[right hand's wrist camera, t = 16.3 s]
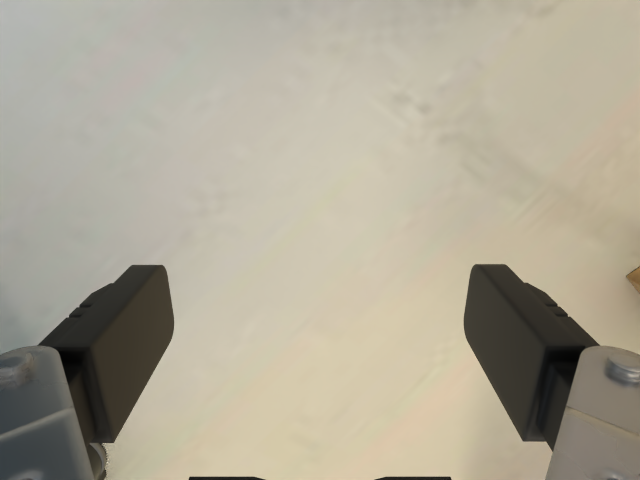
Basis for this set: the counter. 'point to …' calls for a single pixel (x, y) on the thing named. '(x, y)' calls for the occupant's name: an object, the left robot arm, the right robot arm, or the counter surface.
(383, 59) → the counter surface
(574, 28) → the counter surface
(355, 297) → the counter surface
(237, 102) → the counter surface
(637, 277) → the bar
